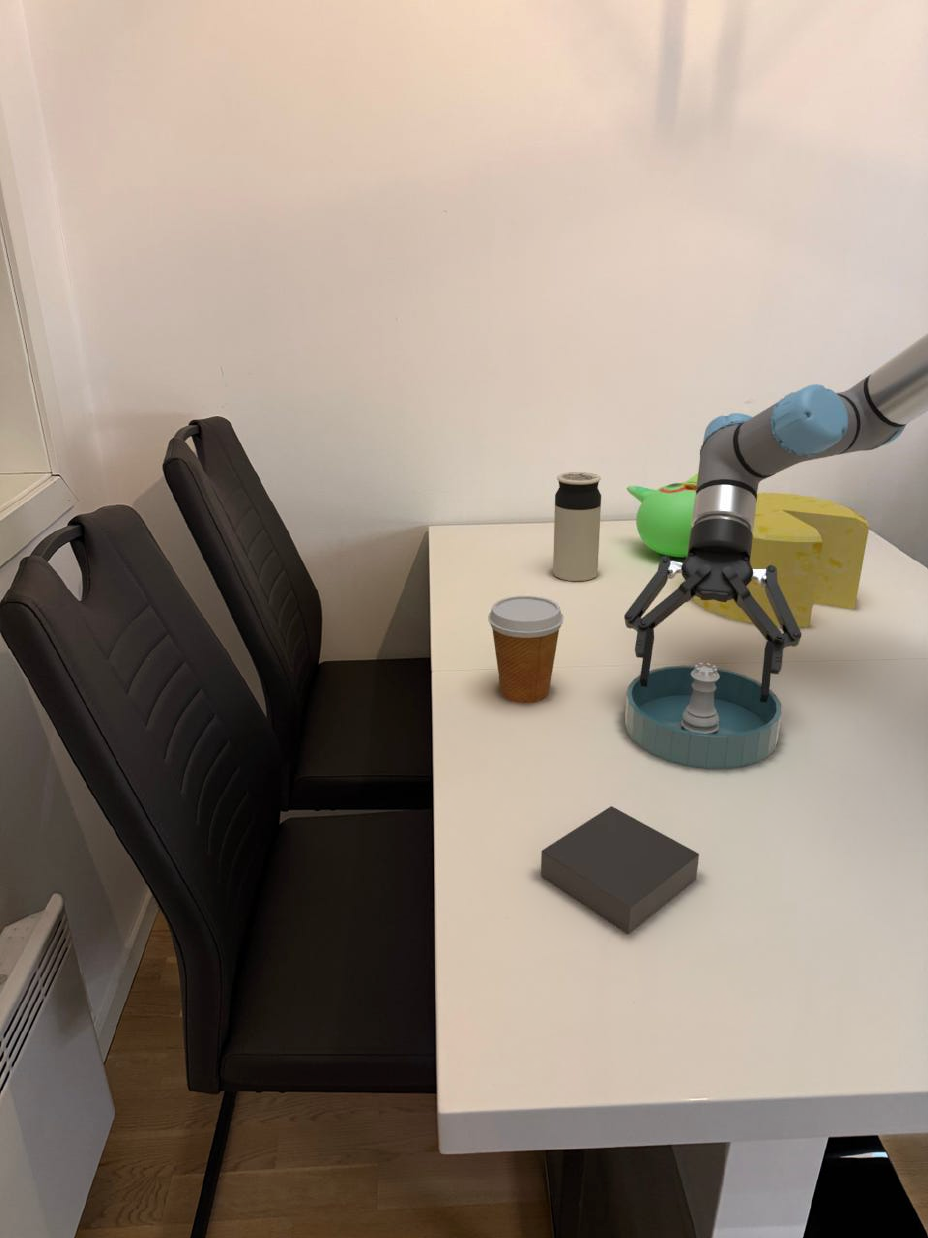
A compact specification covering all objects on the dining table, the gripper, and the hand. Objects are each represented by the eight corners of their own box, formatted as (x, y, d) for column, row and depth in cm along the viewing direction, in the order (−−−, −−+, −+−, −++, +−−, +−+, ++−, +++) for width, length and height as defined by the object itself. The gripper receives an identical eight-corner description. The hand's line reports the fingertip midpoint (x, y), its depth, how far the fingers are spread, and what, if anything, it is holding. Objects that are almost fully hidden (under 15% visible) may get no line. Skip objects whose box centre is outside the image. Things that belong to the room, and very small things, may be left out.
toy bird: (656, 572, 152) (662, 493, 146) (618, 545, 167) (623, 472, 161) (745, 563, 155) (755, 485, 150) (701, 537, 171) (708, 465, 165)
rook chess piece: (724, 736, 98) (731, 675, 95) (687, 738, 98) (693, 677, 95) (711, 717, 103) (718, 658, 99) (675, 719, 102) (681, 660, 99)
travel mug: (587, 585, 146) (591, 484, 139) (545, 578, 150) (548, 479, 143) (604, 571, 153) (609, 474, 146) (563, 565, 156) (566, 469, 149)
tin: (810, 750, 96) (815, 717, 94) (681, 784, 90) (685, 750, 88) (713, 685, 111) (716, 655, 109) (597, 711, 105) (599, 680, 103)
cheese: (873, 633, 126) (891, 537, 120) (693, 623, 130) (703, 530, 124) (835, 574, 149) (848, 491, 143) (684, 567, 154) (691, 487, 148)
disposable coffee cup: (491, 675, 115) (490, 593, 110) (561, 677, 114) (563, 595, 109) (485, 709, 106) (485, 622, 101) (561, 711, 105) (564, 624, 100)
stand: (696, 880, 76) (699, 853, 75) (628, 936, 70) (630, 907, 69) (609, 830, 83) (611, 805, 82) (540, 877, 77) (541, 850, 76)
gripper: (824, 552, 105) (812, 715, 97) (623, 536, 112) (598, 686, 105) (834, 523, 98) (822, 695, 91) (619, 508, 105) (593, 666, 98)
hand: (702, 691), depth 98 cm, fingers open, 13 cm apart
